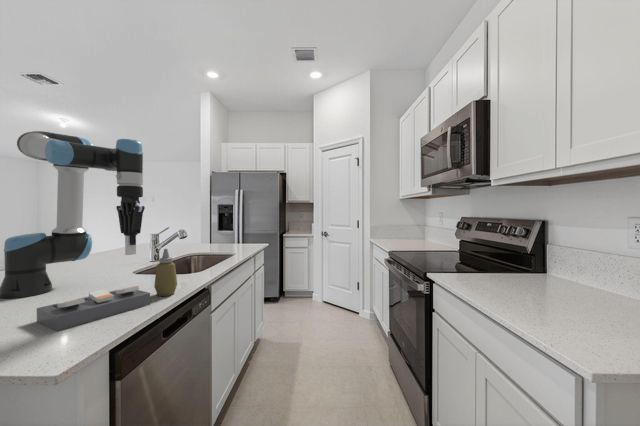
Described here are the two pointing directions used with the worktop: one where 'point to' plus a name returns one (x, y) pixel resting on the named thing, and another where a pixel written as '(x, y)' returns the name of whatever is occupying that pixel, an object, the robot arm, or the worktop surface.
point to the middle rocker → (101, 296)
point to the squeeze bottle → (165, 276)
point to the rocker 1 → (70, 303)
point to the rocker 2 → (127, 289)
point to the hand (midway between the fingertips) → (130, 254)
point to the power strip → (90, 309)
